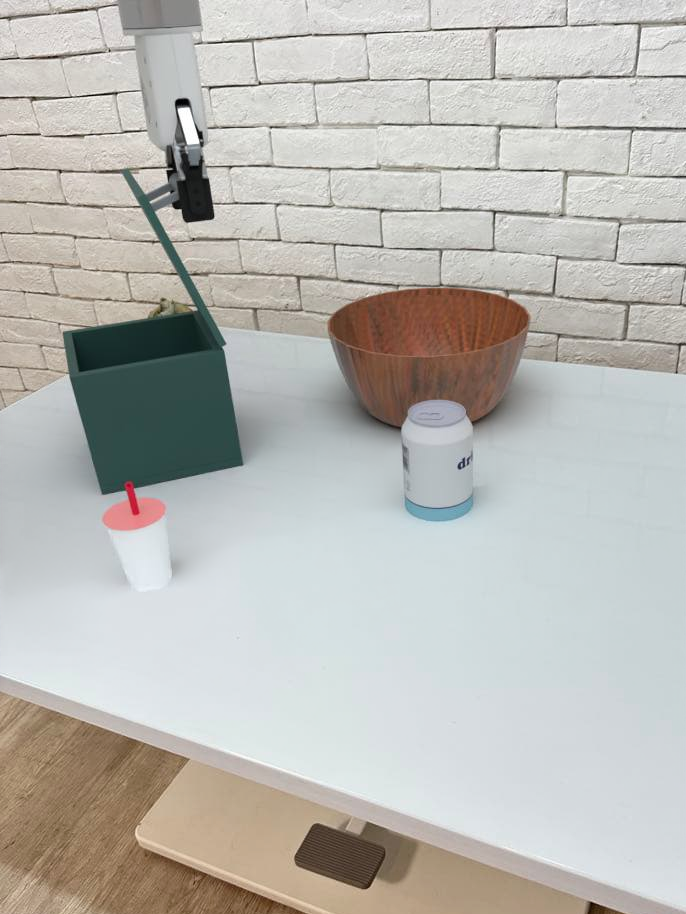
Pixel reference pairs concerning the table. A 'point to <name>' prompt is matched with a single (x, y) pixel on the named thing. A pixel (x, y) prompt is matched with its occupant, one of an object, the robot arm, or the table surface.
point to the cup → (141, 540)
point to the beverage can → (437, 461)
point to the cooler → (153, 399)
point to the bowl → (429, 349)
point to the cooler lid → (166, 243)
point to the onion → (168, 308)
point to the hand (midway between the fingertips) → (193, 212)
